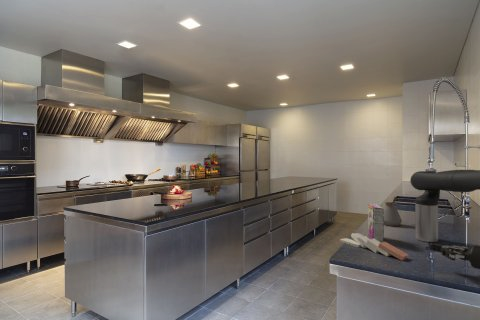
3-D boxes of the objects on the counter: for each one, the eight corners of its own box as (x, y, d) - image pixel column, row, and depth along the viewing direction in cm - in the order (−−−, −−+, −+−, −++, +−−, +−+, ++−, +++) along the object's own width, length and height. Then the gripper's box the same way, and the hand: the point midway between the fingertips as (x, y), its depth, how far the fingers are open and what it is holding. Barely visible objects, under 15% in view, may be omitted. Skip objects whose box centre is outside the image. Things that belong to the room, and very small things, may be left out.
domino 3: (382, 251, 124) (363, 238, 133) (383, 248, 124) (364, 235, 132) (375, 252, 122) (357, 240, 131) (376, 249, 122) (357, 237, 130)
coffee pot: (400, 228, 164) (400, 201, 164) (378, 225, 171) (378, 199, 171) (406, 221, 181) (406, 197, 181) (385, 218, 188) (385, 195, 188)
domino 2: (371, 247, 129) (359, 236, 139) (372, 244, 129) (360, 233, 138) (362, 247, 128) (351, 236, 138) (363, 244, 128) (351, 233, 137)
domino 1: (364, 246, 132) (345, 241, 141) (364, 243, 132) (345, 238, 141) (357, 248, 130) (339, 242, 139) (357, 244, 130) (339, 239, 139)
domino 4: (393, 254, 120) (373, 241, 128) (394, 251, 119) (373, 238, 128) (387, 256, 118) (366, 243, 126) (388, 253, 117) (367, 239, 125)
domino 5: (407, 258, 116) (383, 244, 123) (408, 254, 115) (384, 241, 123) (401, 260, 113) (378, 246, 121) (403, 257, 113) (379, 243, 120)
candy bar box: (367, 235, 149) (367, 203, 149) (377, 236, 148) (377, 204, 148) (372, 242, 138) (372, 207, 138) (384, 242, 137) (384, 207, 137)
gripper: (497, 244, 97) (438, 233, 111) (484, 252, 89) (422, 239, 103) (497, 267, 97) (438, 253, 111) (484, 276, 89) (422, 260, 103)
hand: (431, 246), depth 107 cm, fingers closed
